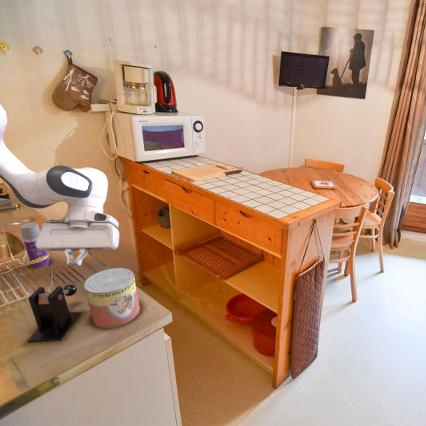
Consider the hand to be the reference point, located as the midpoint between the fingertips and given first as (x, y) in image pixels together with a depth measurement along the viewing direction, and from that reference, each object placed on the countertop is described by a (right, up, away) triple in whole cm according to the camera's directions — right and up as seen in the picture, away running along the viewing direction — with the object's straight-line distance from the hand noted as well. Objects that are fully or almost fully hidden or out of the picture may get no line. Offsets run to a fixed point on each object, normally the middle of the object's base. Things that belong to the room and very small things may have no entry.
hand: (73, 265), depth 90 cm
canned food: (+13, -14, -1) cm, 19 cm away
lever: (+1, -8, -6) cm, 10 cm away
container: (-25, -3, +18) cm, 30 cm away
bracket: (+1, -16, -7) cm, 17 cm away
